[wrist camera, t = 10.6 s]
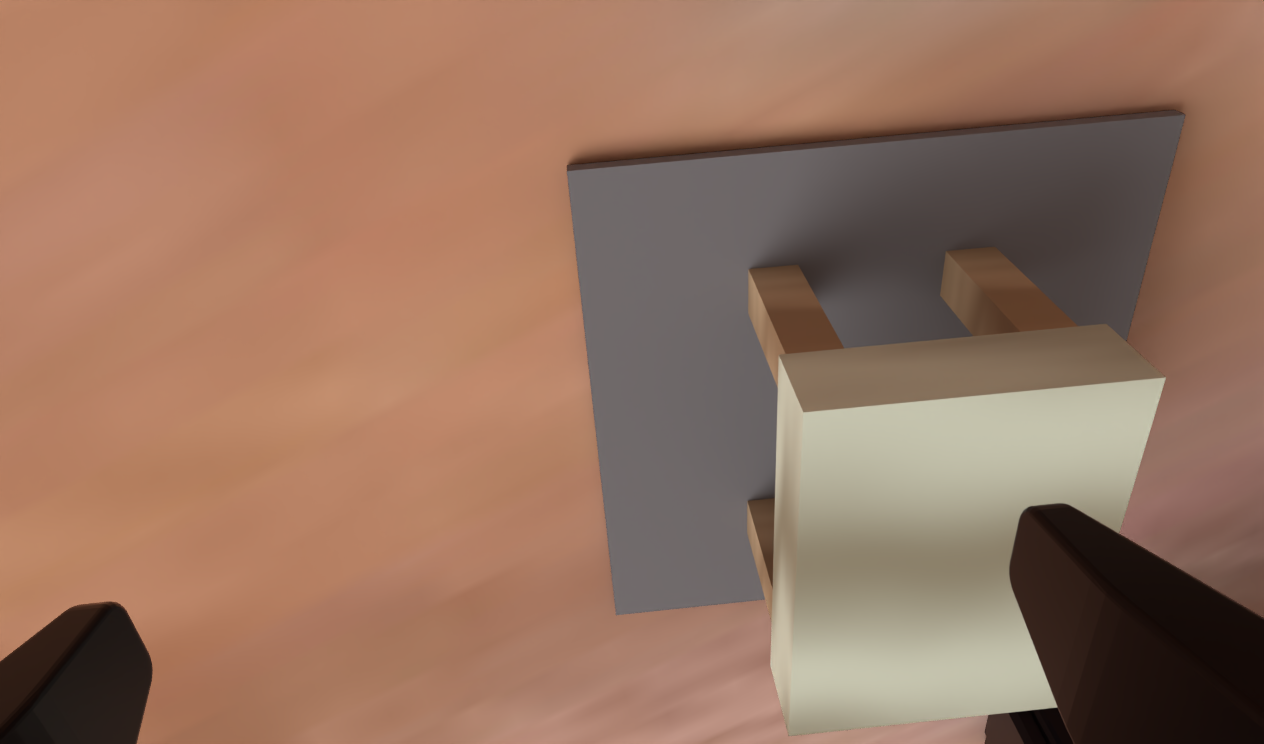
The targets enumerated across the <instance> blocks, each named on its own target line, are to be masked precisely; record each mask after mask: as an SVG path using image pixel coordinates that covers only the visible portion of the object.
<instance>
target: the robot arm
mask: <svg viewBox="0 0 1264 744" xmlns="http://www.w3.org/2000/svg"><path fill="white" fill-rule="evenodd" d="M1009 577H1010V583H1011V587H1012V590H1013V593H1014V595H1015V598H1016V601H1017V603H1018V606H1019V608H1020V611H1021V614H1022V616H1023V619H1024V621H1025V624H1026V627H1027V629H1028V632H1029V634H1030V637H1031V640H1032V642H1033V645H1034V647H1035V650H1036V653H1037V655H1038V658H1039V660H1040V663H1041V666H1042V668H1043V671H1044V673H1045V676H1046V679H1047V681H1048V684H1049V686H1050V689H1051V692H1052V694H1053V697H1054V699H1055V702H1056V705H1057V708H1048V709H1038V710H1029V711H1020V712H1010V713H1001V714H992V715H988V720H987V724H986V729H985V734H986V740H985V744H1264V618H1263V617H1261V616H1260V615H1258V614H1256V613H1255V612H1253V611H1251V610H1249V609H1248V608H1246V607H1244V606H1243V605H1241V604H1239V603H1237V602H1236V601H1234V600H1232V599H1231V598H1229V597H1227V596H1225V595H1224V594H1222V593H1220V592H1219V591H1217V590H1215V589H1213V588H1212V587H1210V586H1208V585H1207V584H1205V583H1203V582H1201V581H1200V580H1198V579H1196V578H1195V577H1193V576H1191V575H1189V574H1188V573H1186V572H1184V571H1183V570H1181V569H1179V568H1177V567H1176V566H1174V565H1172V564H1171V563H1169V562H1167V561H1165V560H1164V559H1162V558H1160V557H1159V556H1157V555H1155V554H1153V553H1152V552H1150V551H1148V550H1147V549H1145V548H1143V547H1141V546H1140V545H1138V544H1136V543H1135V542H1133V541H1131V540H1129V539H1128V538H1126V537H1124V536H1123V535H1121V534H1119V533H1117V532H1116V531H1114V530H1112V529H1111V528H1109V527H1107V526H1105V525H1104V524H1102V523H1100V522H1099V521H1097V520H1095V519H1094V518H1092V517H1090V516H1088V515H1087V514H1085V513H1083V512H1082V511H1080V510H1078V509H1076V508H1075V507H1073V506H1071V505H1068V504H1065V503H1055V504H1045V505H1036V506H1030V507H1027V508H1025V509H1024V510H1023V512H1022V513H1021V515H1020V518H1019V521H1018V526H1017V531H1016V536H1015V540H1014V545H1013V550H1012V554H1011V559H1010V564H1009ZM151 681H152V662H151V658H150V655H149V653H148V651H147V649H146V647H145V645H144V643H143V641H142V639H141V638H140V636H139V634H138V632H137V630H136V628H135V626H134V624H133V622H132V620H131V619H130V617H129V615H128V613H127V611H126V610H125V608H124V607H123V606H121V605H120V604H119V603H117V602H101V603H91V604H82V605H77V606H73V607H71V608H69V609H68V610H66V611H65V612H63V613H62V614H61V615H60V616H58V617H57V618H56V619H54V620H53V621H52V622H51V623H49V624H48V625H47V626H45V627H44V628H43V629H42V630H40V631H39V632H38V633H36V634H35V635H34V636H33V637H31V638H30V639H29V640H27V641H26V642H25V643H24V644H22V645H21V646H20V647H18V648H17V649H16V650H14V651H13V652H12V653H11V654H9V655H8V656H7V657H5V658H4V659H3V660H2V661H0V744H137V740H138V736H139V731H140V727H141V723H142V719H143V715H144V711H145V707H146V703H147V698H148V694H149V690H150V686H151Z"/></svg>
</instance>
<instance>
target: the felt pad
mask: <svg viewBox="0 0 1264 744" xmlns="http://www.w3.org/2000/svg"><path fill="white" fill-rule="evenodd" d="M1184 119H1185V114H1183V113H1181V112H1178V111H1176V110H1168V111H1157V112H1146V113H1135V114H1124V115H1114V116H1103V117H1092V118H1081V119H1070V120H1059V121H1048V122H1037V123H1026V124H1015V125H1004V126H993V127H982V128H971V129H960V130H949V131H938V132H927V133H916V134H905V135H894V136H883V137H872V138H861V139H850V140H839V141H828V142H817V143H806V144H795V145H784V146H773V147H762V148H751V149H740V150H729V151H718V152H707V153H696V154H685V155H674V156H663V157H652V158H641V159H630V160H619V161H609V162H598V163H587V164H576V165H567V176H568V185H569V194H570V203H571V212H572V221H573V230H574V239H575V248H576V257H577V266H578V275H579V284H580V293H581V302H582V311H583V320H584V329H585V338H586V347H587V356H588V365H589V374H590V383H591V392H592V401H593V410H594V419H595V428H596V437H597V446H598V455H599V465H600V474H601V483H602V492H603V501H604V510H605V519H606V528H607V537H608V546H609V555H610V564H611V573H612V582H613V591H614V600H615V609H616V615H622V614H631V613H641V612H650V611H660V610H669V609H679V608H689V607H698V606H708V605H717V604H727V603H736V602H746V601H755V600H765V597H764V593H763V589H762V586H761V582H760V578H759V575H758V571H757V567H756V564H755V560H754V556H753V553H752V549H751V545H750V542H749V538H748V534H747V501H752V500H762V499H772V498H775V478H776V440H777V402H778V387H777V385H776V382H775V380H774V377H773V375H772V372H771V370H770V367H769V364H768V362H767V359H766V357H765V354H764V352H763V349H762V347H761V344H760V342H759V339H758V337H757V334H756V332H755V329H754V327H753V324H752V322H751V319H750V317H749V314H748V269H756V268H767V267H778V266H789V265H799V267H800V269H801V271H802V273H803V274H804V276H805V278H806V280H807V282H808V283H809V285H810V287H811V289H812V291H813V292H814V294H815V296H816V298H817V300H818V301H819V303H820V305H821V307H822V309H823V311H824V312H825V314H826V316H827V318H828V320H829V321H830V323H831V325H832V327H833V329H834V330H835V332H836V334H837V336H838V338H839V339H840V341H841V343H842V345H843V347H844V348H855V347H865V346H876V345H887V344H897V343H908V342H918V341H929V340H940V339H950V338H961V337H971V336H973V335H972V334H971V333H970V331H969V330H968V329H967V328H966V327H965V325H964V324H963V323H962V322H961V320H960V319H959V318H958V317H957V316H956V314H955V313H954V312H953V311H952V310H951V308H950V307H949V306H948V305H947V303H946V302H945V301H944V300H943V299H942V297H941V296H940V292H941V285H942V277H943V270H944V262H945V255H946V251H953V250H964V249H975V248H986V247H996V248H997V249H998V250H999V251H1000V252H1001V253H1002V254H1003V255H1004V256H1005V257H1006V258H1007V259H1008V260H1009V261H1010V262H1012V263H1013V264H1014V265H1015V266H1016V267H1017V268H1018V269H1019V270H1020V271H1021V272H1022V273H1023V274H1024V275H1025V276H1026V277H1027V278H1028V279H1029V280H1030V281H1031V282H1032V283H1034V284H1035V285H1036V286H1037V287H1038V288H1039V289H1040V290H1041V291H1042V292H1043V293H1044V294H1045V295H1046V296H1047V297H1048V298H1049V299H1050V300H1051V301H1052V302H1053V303H1054V304H1055V305H1057V306H1058V307H1059V308H1060V309H1061V310H1062V311H1063V312H1064V313H1065V314H1066V315H1067V316H1068V317H1069V318H1070V319H1071V320H1072V321H1073V322H1074V323H1075V324H1076V325H1077V326H1088V325H1098V324H1107V325H1108V326H1109V327H1111V328H1112V329H1113V330H1114V331H1115V332H1116V333H1117V334H1118V335H1119V336H1120V337H1122V338H1123V339H1124V340H1125V341H1127V337H1128V333H1129V329H1130V325H1131V322H1132V318H1133V314H1134V310H1135V306H1136V302H1137V299H1138V295H1139V291H1140V287H1141V283H1142V279H1143V276H1144V272H1145V268H1146V264H1147V260H1148V256H1149V253H1150V249H1151V245H1152V241H1153V237H1154V234H1155V230H1156V226H1157V222H1158V218H1159V214H1160V211H1161V207H1162V203H1163V199H1164V195H1165V191H1166V188H1167V184H1168V180H1169V176H1170V172H1171V168H1172V165H1173V161H1174V157H1175V153H1176V149H1177V145H1178V142H1179V138H1180V134H1181V130H1182V126H1183V123H1184Z"/></svg>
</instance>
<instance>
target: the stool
mask: <svg viewBox="0 0 1264 744" xmlns="http://www.w3.org/2000/svg"><path fill="white" fill-rule="evenodd" d="M940 296H941V297H942V299H943V300H944V301H945V302H946V303H947V305H948V306H949V307H950V308H951V310H952V311H953V312H954V313H955V314H956V316H957V317H958V318H959V319H960V320H961V322H962V323H963V324H964V325H965V327H966V328H967V329H968V330H969V331H970V333H971V334H972V335H973V336H971V337H961V338H950V339H940V340H929V341H918V342H908V343H897V344H887V345H876V346H865V347H855V348H844V347H843V345H842V343H841V341H840V339H839V338H838V336H837V334H836V332H835V330H834V329H833V327H832V325H831V323H830V321H829V320H828V318H827V316H826V314H825V312H824V311H823V309H822V307H821V305H820V303H819V301H818V300H817V298H816V296H815V294H814V292H813V291H812V289H811V287H810V285H809V283H808V282H807V280H806V278H805V276H804V274H803V273H802V271H801V269H800V267H799V265H789V266H778V267H767V268H756V269H748V314H749V317H750V319H751V322H752V324H753V327H754V329H755V332H756V334H757V337H758V339H759V342H760V344H761V347H762V349H763V352H764V354H765V357H766V359H767V362H768V364H769V367H770V370H771V372H772V375H773V377H774V380H775V382H776V385H777V387H778V402H777V440H776V478H775V498H772V499H762V500H752V501H747V534H748V538H749V542H750V545H751V549H752V553H753V556H754V560H755V564H756V567H757V571H758V575H759V578H760V582H761V586H762V589H763V593H764V597H765V600H766V604H767V608H768V611H769V615H770V619H771V622H772V630H771V670H772V673H773V677H774V681H775V685H776V689H777V693H778V697H779V701H780V705H781V708H782V712H783V716H784V720H785V724H786V728H787V732H788V736H795V735H805V734H814V733H823V732H833V731H842V730H851V729H861V728H870V727H879V726H889V725H898V724H907V723H917V722H926V721H935V720H945V719H954V718H963V717H973V716H982V715H992V714H1001V713H1010V712H1020V711H1029V710H1038V709H1048V708H1057V705H1056V702H1055V699H1054V697H1053V694H1052V692H1051V689H1050V686H1049V684H1048V681H1047V679H1046V676H1045V673H1044V671H1043V668H1042V666H1041V663H1040V660H1039V658H1038V655H1037V653H1036V650H1035V647H1034V645H1033V642H1032V640H1031V637H1030V634H1029V632H1028V629H1027V627H1026V624H1025V621H1024V619H1023V616H1022V614H1021V611H1020V608H1019V606H1018V603H1017V601H1016V598H1015V595H1014V593H1013V590H1012V587H1011V583H1010V577H1009V564H1010V559H1011V554H1012V550H1013V545H1014V540H1015V536H1016V531H1017V526H1018V521H1019V518H1020V515H1021V513H1022V512H1023V510H1024V509H1025V508H1027V507H1030V506H1036V505H1045V504H1055V503H1065V504H1068V505H1071V506H1073V507H1075V508H1076V509H1078V510H1080V511H1082V512H1083V513H1085V514H1087V515H1088V516H1090V517H1092V518H1094V519H1095V520H1097V521H1099V522H1100V523H1102V524H1104V525H1105V526H1107V527H1109V528H1111V529H1112V530H1114V531H1116V532H1117V533H1119V532H1120V529H1121V526H1122V522H1123V519H1124V516H1125V512H1126V509H1127V506H1128V502H1129V499H1130V496H1131V492H1132V489H1133V486H1134V482H1135V479H1136V476H1137V472H1138V469H1139V466H1140V462H1141V459H1142V456H1143V452H1144V449H1145V446H1146V442H1147V439H1148V436H1149V432H1150V429H1151V426H1152V422H1153V419H1154V416H1155V412H1156V409H1157V406H1158V402H1159V399H1160V396H1161V392H1162V389H1163V386H1164V382H1165V379H1166V377H1165V376H1164V375H1163V374H1161V373H1160V372H1159V371H1158V370H1157V369H1156V368H1155V367H1154V366H1153V365H1151V364H1150V363H1149V362H1148V361H1147V360H1146V359H1145V358H1144V357H1143V356H1142V355H1140V354H1139V353H1138V352H1137V351H1136V350H1135V349H1134V348H1133V347H1132V346H1130V345H1129V344H1128V343H1127V342H1126V341H1125V340H1124V339H1123V338H1122V337H1120V336H1119V335H1118V334H1117V333H1116V332H1115V331H1114V330H1113V329H1112V328H1111V327H1109V326H1108V325H1107V324H1098V325H1088V326H1077V325H1076V324H1075V323H1074V322H1073V321H1072V320H1071V319H1070V318H1069V317H1068V316H1067V315H1066V314H1065V313H1064V312H1063V311H1062V310H1061V309H1060V308H1059V307H1058V306H1057V305H1055V304H1054V303H1053V302H1052V301H1051V300H1050V299H1049V298H1048V297H1047V296H1046V295H1045V294H1044V293H1043V292H1042V291H1041V290H1040V289H1039V288H1038V287H1037V286H1036V285H1035V284H1034V283H1032V282H1031V281H1030V280H1029V279H1028V278H1027V277H1026V276H1025V275H1024V274H1023V273H1022V272H1021V271H1020V270H1019V269H1018V268H1017V267H1016V266H1015V265H1014V264H1013V263H1012V262H1010V261H1009V260H1008V259H1007V258H1006V257H1005V256H1004V255H1003V254H1002V253H1001V252H1000V251H999V250H998V249H997V248H996V247H986V248H975V249H964V250H953V251H946V255H945V262H944V270H943V277H942V285H941V292H940Z"/></svg>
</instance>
